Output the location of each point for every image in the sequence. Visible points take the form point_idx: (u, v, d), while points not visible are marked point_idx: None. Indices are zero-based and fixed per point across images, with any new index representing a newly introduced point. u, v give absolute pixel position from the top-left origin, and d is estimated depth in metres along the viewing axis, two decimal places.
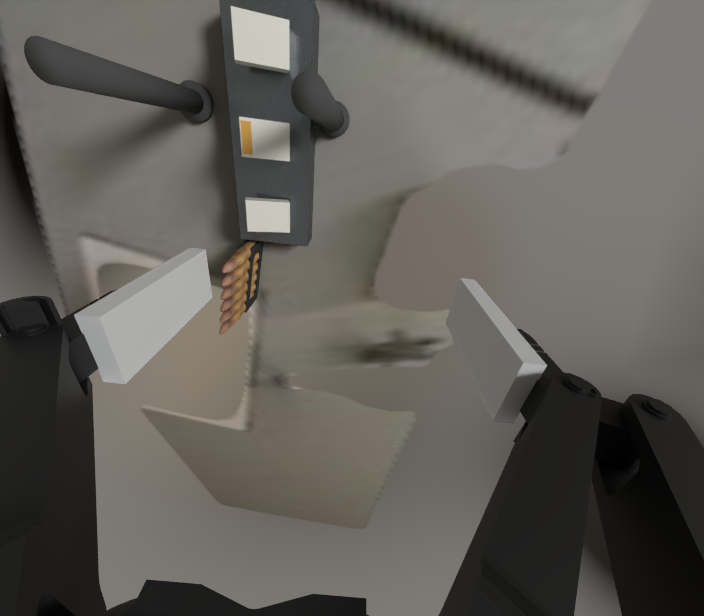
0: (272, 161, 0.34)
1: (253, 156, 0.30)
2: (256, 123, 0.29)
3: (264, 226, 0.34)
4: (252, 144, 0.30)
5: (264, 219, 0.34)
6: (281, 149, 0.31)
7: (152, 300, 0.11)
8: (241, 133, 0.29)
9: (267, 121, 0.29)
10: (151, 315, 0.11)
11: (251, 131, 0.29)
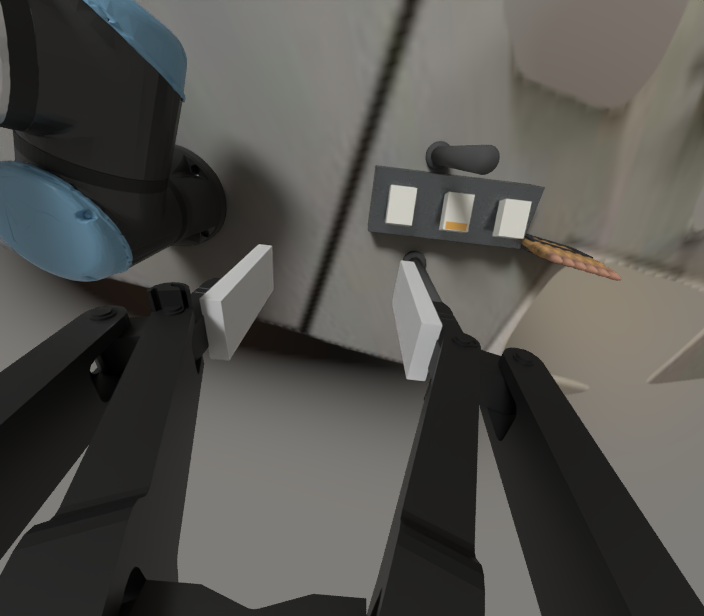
0: None
1: (468, 223, 0.40)
2: (447, 217, 0.40)
3: (522, 223, 0.40)
4: (460, 222, 0.40)
5: (516, 222, 0.40)
6: (465, 200, 0.39)
7: (244, 289, 0.12)
8: (453, 229, 0.40)
9: (446, 208, 0.39)
10: (243, 302, 0.12)
11: (452, 221, 0.40)
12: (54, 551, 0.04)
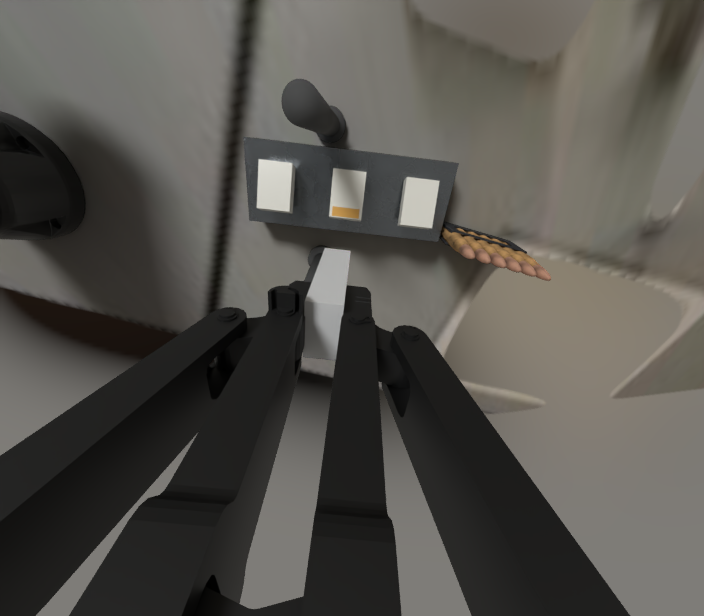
0: (366, 194, 0.34)
1: (361, 208, 0.31)
2: (334, 201, 0.31)
3: (429, 209, 0.31)
4: (351, 208, 0.31)
5: (421, 207, 0.31)
6: (355, 179, 0.31)
7: None
8: (342, 216, 0.31)
9: (332, 190, 0.31)
10: None
11: (340, 207, 0.31)
12: (155, 534, 0.04)
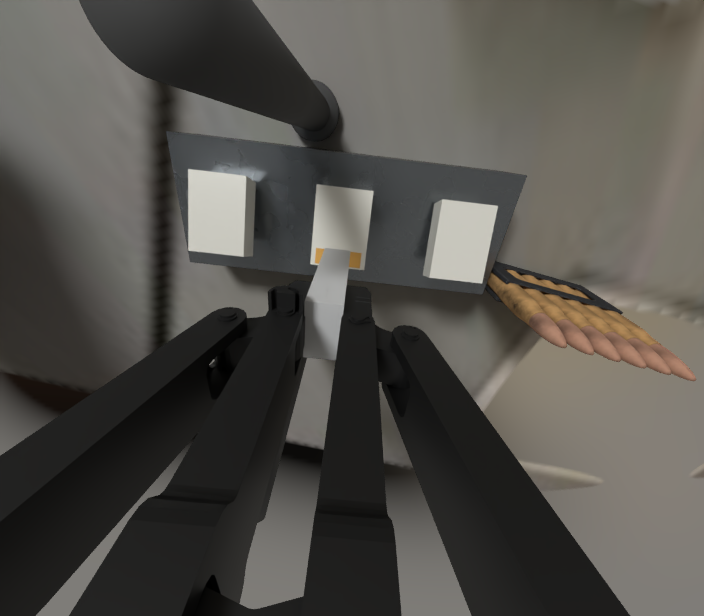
0: (372, 224, 0.21)
1: (364, 252, 0.19)
2: (318, 239, 0.18)
3: (478, 252, 0.19)
4: None
5: (466, 250, 0.19)
6: (354, 203, 0.18)
7: None
8: None
9: (315, 221, 0.18)
10: None
11: None
12: (155, 534, 0.04)
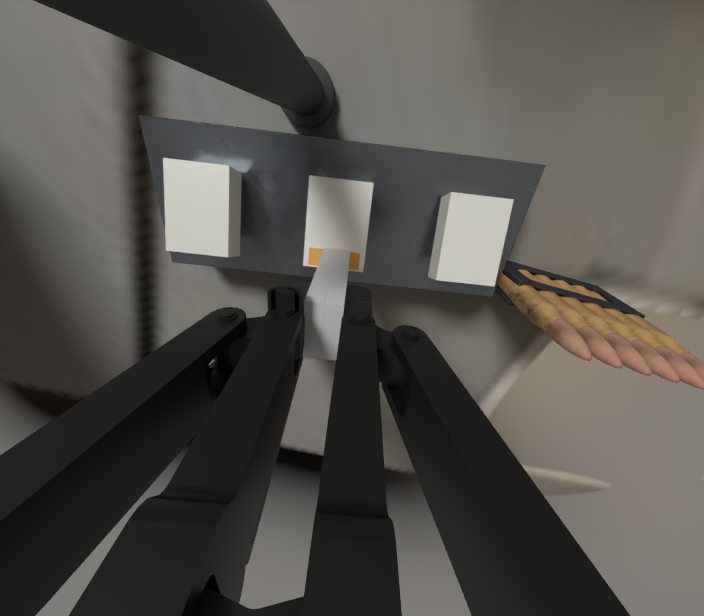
0: (372, 220, 0.19)
1: (363, 252, 0.17)
2: (311, 237, 0.16)
3: (490, 252, 0.17)
4: None
5: (477, 249, 0.17)
6: (352, 197, 0.16)
7: None
8: None
9: (308, 217, 0.16)
10: None
11: None
12: (155, 534, 0.04)
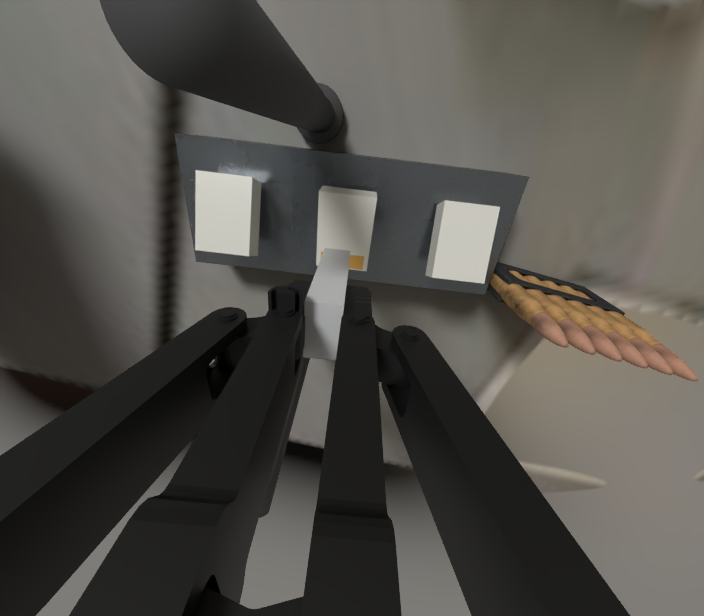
0: (376, 225, 0.21)
1: (366, 255, 0.19)
2: (322, 243, 0.19)
3: (480, 253, 0.19)
4: (350, 254, 0.19)
5: (468, 250, 0.19)
6: (357, 210, 0.18)
7: None
8: None
9: (319, 227, 0.19)
10: None
11: None
12: (155, 534, 0.04)
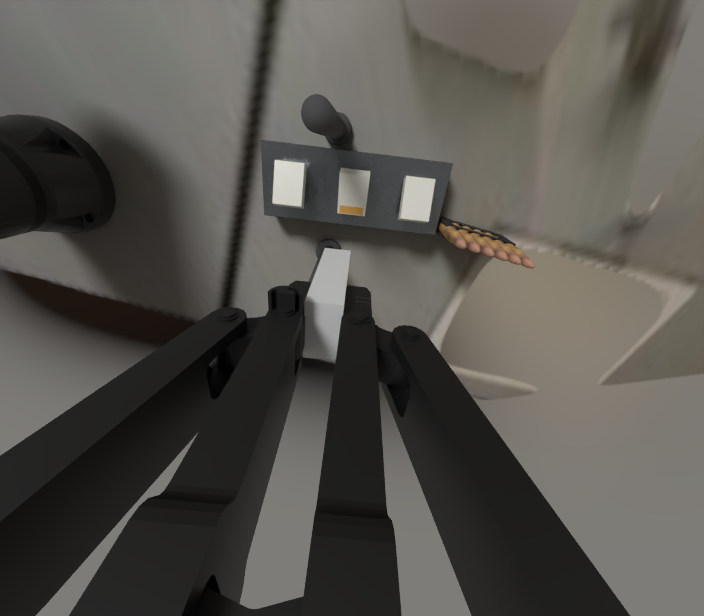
0: (370, 191, 0.37)
1: (364, 207, 0.36)
2: (341, 201, 0.36)
3: (426, 204, 0.35)
4: (356, 206, 0.36)
5: (419, 203, 0.35)
6: (359, 183, 0.34)
7: None
8: (348, 213, 0.37)
9: (339, 192, 0.35)
10: None
11: (346, 205, 0.36)
12: (155, 534, 0.04)
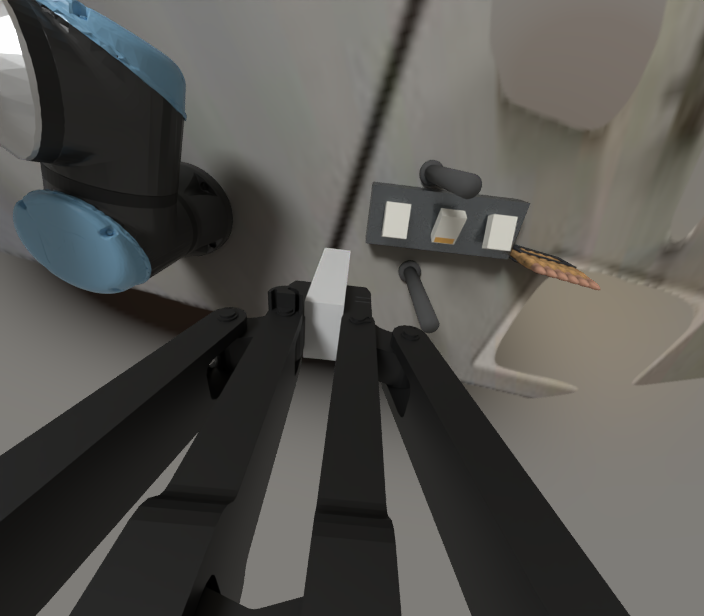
0: None
1: (455, 238, 0.44)
2: (437, 234, 0.43)
3: (508, 237, 0.43)
4: (448, 238, 0.44)
5: (503, 236, 0.43)
6: (457, 222, 0.41)
7: None
8: (440, 242, 0.45)
9: (437, 228, 0.42)
10: None
11: (441, 237, 0.44)
12: (155, 534, 0.04)
